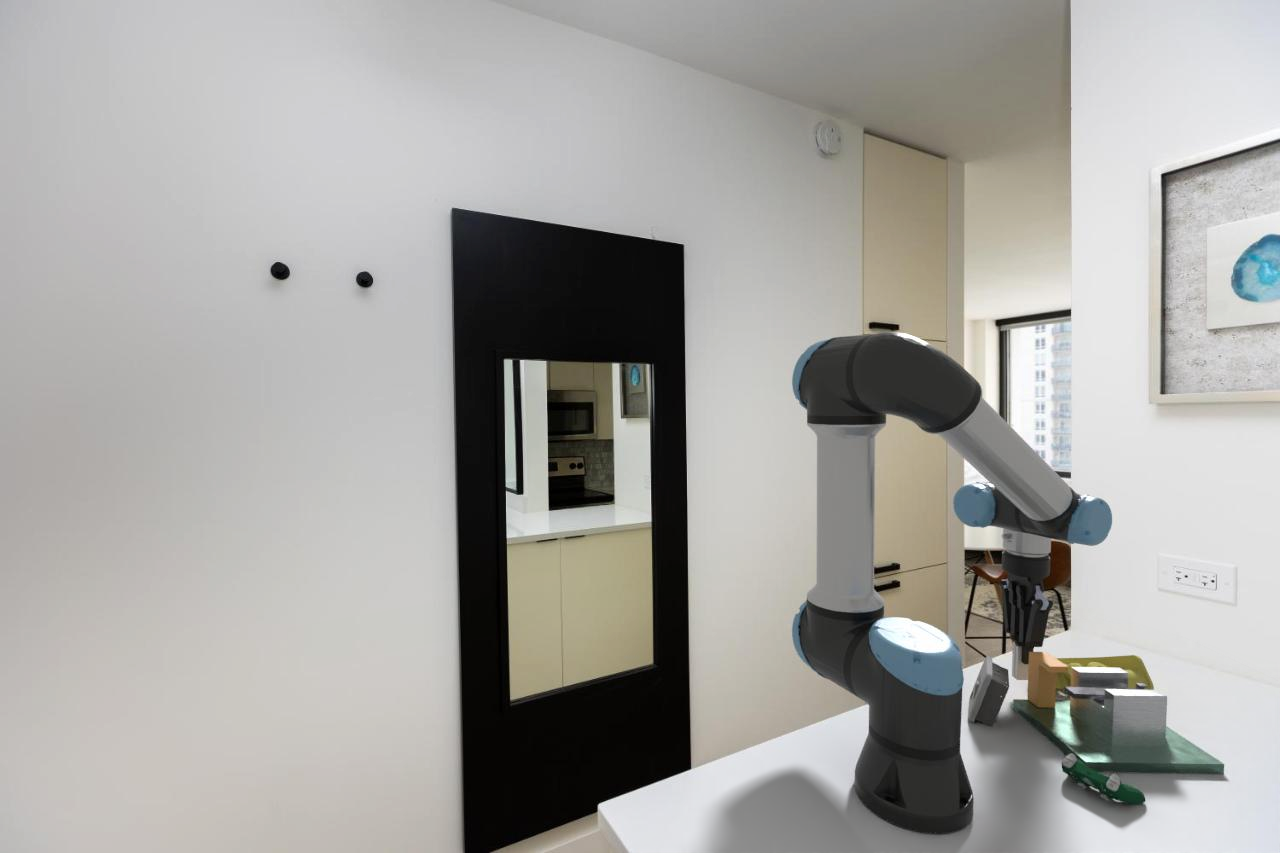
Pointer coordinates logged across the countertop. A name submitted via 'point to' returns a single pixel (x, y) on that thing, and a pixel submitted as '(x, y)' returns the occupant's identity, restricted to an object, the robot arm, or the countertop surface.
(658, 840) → the countertop surface
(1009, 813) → the countertop surface
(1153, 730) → the green mounting baseplate
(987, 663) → the electrical switch
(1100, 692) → the strap
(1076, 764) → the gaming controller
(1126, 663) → the plastic component
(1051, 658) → the block
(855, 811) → the countertop surface
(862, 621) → the robot arm
